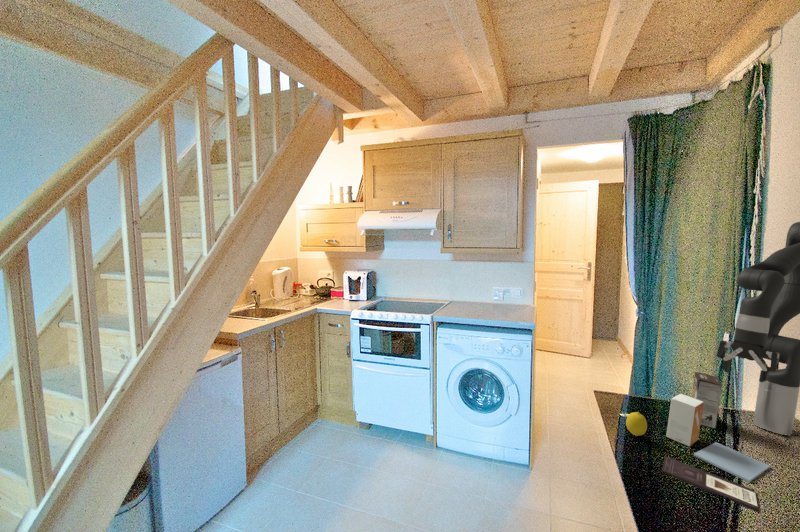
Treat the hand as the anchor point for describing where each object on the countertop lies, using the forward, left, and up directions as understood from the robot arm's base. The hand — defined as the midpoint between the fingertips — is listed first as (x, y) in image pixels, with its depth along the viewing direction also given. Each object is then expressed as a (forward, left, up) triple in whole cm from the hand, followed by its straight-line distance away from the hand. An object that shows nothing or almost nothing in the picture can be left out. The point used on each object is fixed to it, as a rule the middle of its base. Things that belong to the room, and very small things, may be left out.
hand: (743, 376), depth 112 cm
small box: (+22, -6, -20) cm, 31 cm away
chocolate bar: (+41, +7, -21) cm, 47 cm away
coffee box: (0, -9, -20) cm, 22 cm away
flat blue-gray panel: (+23, +6, -20) cm, 31 cm away
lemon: (+36, -13, -20) cm, 43 cm away
